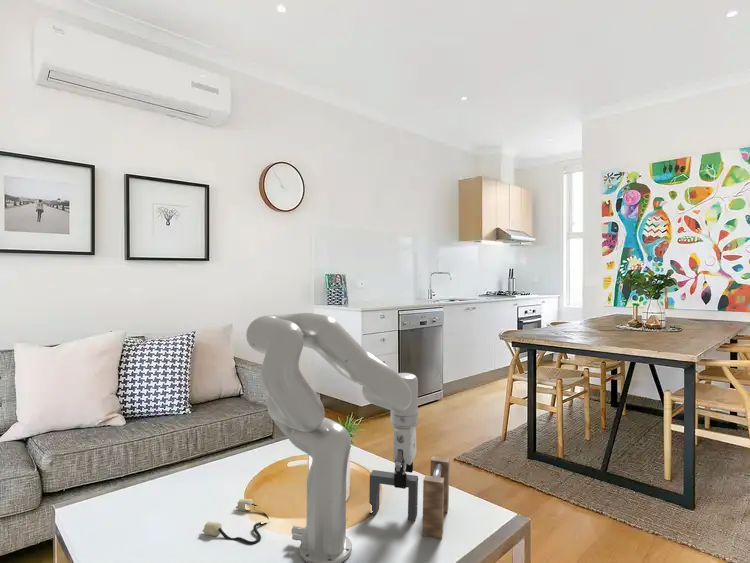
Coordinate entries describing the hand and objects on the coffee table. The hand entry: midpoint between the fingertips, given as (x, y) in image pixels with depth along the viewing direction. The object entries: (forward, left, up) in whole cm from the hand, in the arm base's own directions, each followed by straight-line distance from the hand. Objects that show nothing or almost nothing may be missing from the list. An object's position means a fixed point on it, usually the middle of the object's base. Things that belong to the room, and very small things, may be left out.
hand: (403, 479), depth 130 cm
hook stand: (+9, 0, -10) cm, 14 cm away
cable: (-40, -16, -11) cm, 44 cm away
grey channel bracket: (-3, 0, -10) cm, 11 cm away
